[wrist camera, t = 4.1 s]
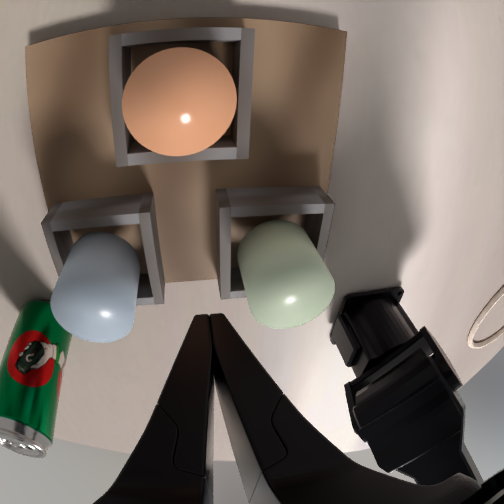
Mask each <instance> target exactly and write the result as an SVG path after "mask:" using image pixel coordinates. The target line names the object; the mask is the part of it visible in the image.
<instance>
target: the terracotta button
mask: <svg viewBox="0 0 504 504" xmlns="http://www.w3.org/2000/svg"><path fill="white" fill-rule="evenodd" d="M236 104H237V93H236V88H235V84H234V81H233V79H232V77H231V75H230V73H229V71H228V70H227V68H226V67H225V66H224V65H223V64H222V63H221V62H220V61H219V60H218V59H217V58H215V57H214V56H212V55H210V54H209V53H206V52H204V51H202V50H198V49H195V48H188V47H177V48H170V49H166V50H162V51H160V52H157V53H155V54H153V55H152V56H150V57H148V58H147V59H145V60H144V61H143V62H142V63H141V64H140V65H138V66H137V67H136V69H135V70H134V71H133V72H132V74H131V76H130V77H129V79H128V81H127V83H126V85H125V88H124V92H123V97H122V112H123V117H124V121H125V123H126V126H127V128H128V130H129V131H130V133H131V134H132V136H133V137H134V138H135V139H136V140H137V141H138V142H139V143H140V144H141V145H143V146H144V147H146V148H147V149H149V150H151V151H153V152H156V153H158V154H162V155H167V156H186V155H191V154H195V153H197V152H200V151H202V150H204V149H206V148H208V147H210V146H211V145H213V144H214V143H215V142H216V141H217V140H219V139H220V138H221V137H222V135H223V134H224V133H225V132H226V130H227V129H228V128H229V126H230V124H231V122H232V120H233V117H234V114H235V110H236Z"/></svg>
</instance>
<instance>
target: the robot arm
mask: <svg viewBox="0 0 504 504" xmlns="http://www.w3.org/2000/svg"><path fill="white" fill-rule="evenodd" d="M403 293H404V290H403V289H402V287H395V288H389V289H382V290H375V291H369V292H362V293H355V294H349V295H347V296H345V297H344V299H343V303H342V306H341V309H340V312H339V315H338V317H337V320H336V323H335V326H334V329H333V332H332V336H331V339H330V341H331V343H332V344H336V345H337V347H338V349H339V351H340V354H341V356H342V358H343V360H344V362H345V365H346V366H347V367H352V369H353V371H354V373H355V376H356V379H354V380H353V381H351V382H348V383H346V384H345V385H344V387H345V392H346V393H345V394H346V399H347V403H348V408H349V413H350V418H351V422H352V427H353V429H354V432H355V433H356V434H358V435H359V437H360V438H361V439H362V440H363V441H364V442H365V443H366V444H368V445H369V447H370V448H371V450H372V453H373V455H374V457H375V459H376V462H377V464H378V466H379V467H380V468H381V469H383V470H384V471H386V472H388V473H390V472H392V471H394V470H396V471H399V472H401V473H403V474H405V475H407V476H409V477H411V478H413V479H414V480H415V482H416V483H417V484H414V483H411V482H407V481H404V480H400V479H398V478H395V477H392V476H388V475H386V474H383V473H380V472H377V471H374V470H371V469H369V468H366V467H364V466H362V465H360V464H358V463H356V462H354V461H353V460H351V459H350V458H348V457H347V456H346V455H345V454H344V453H343V452H341V451H340V450H339V449H338V448H337V447H336V446H335V445H333V444H332V443H331V442H330V441H329V440H328V439H327V438H326V437H325V436H323V435H322V434H321V433H320V432H319V431H318V430H317V429H316V428H315V427H314V426H313V425H312V424H311V423H310V422H309V421H308V420H307V419H306V418H305V417H304V416H303V415H302V414H301V413H300V412H299V411H298V410H297V409H296V407H295V406H294V405H293V404H292V403H291V401H290V400H289V399H288V398H287V396H286V395H285V394H283V392H282V390H281V389H280V388H279V387H278V385H277V384H276V383H275V382H274V380H273V379H272V378H271V376H270V375H269V374H268V373H267V371H266V370H265V369H264V367H263V366H262V365H261V363H260V362H259V361H258V360H257V358H256V357H255V356H254V354H253V353H252V352H251V350H250V349H249V348H248V346H247V345H246V344H245V342H244V341H243V340H242V338H241V337H240V336H239V334H238V333H237V332H236V330H235V329H234V327H233V326H232V325H231V323H230V322H229V321H228V319H227V318H226V317H225V315H224V314H222V313H219V314H210V316H209V315H208V314H201V315H195V316H194V318H193V320H192V323H191V325H190V327H189V330H188V332H187V334H186V336H185V339H184V341H183V343H182V346H181V348H180V350H179V352H178V355H177V357H176V359H175V362H174V364H173V366H172V369H171V371H170V373H169V376H168V378H167V380H166V383H165V385H164V388H163V390H162V392H161V395H160V397H159V399H158V402H157V403H158V404H157V405H156V406H155V409H154V411H153V413H152V416H151V418H150V420H149V422H148V424H147V427H146V429H145V431H144V433H143V434H142V436H141V438H140V440H139V442H138V444H137V445H136V447H135V449H134V450H133V452H132V454H131V455H130V457H129V459H128V460H127V462H126V464H125V465H124V467H123V469H122V471H121V472H120V474H119V476H118V477H117V479H116V480H115V482H114V483H113V485H112V486H111V487H110V488H109V490H108V491H107V492H106V493H105V494H104V495H103V496H101V497H100V498H99V499H98V500H97V501H95V502H94V503H93V504H213V437H214V380H215V386H216V390H217V394H218V398H219V402H220V406H221V409H222V413H223V417H224V421H225V424H226V428H227V432H228V435H229V439H230V442H231V446H232V449H233V453H234V456H235V459H236V463H237V466H238V469H239V473H240V476H241V479H242V482H243V486H244V489H245V492H246V495H247V498H248V501H249V503H250V504H504V468H503V469H502V470H500V471H499V472H497V473H496V474H494V475H493V476H492V477H490V478H488V479H487V480H485V481H483V479H482V477H481V475H480V473H479V471H478V469H477V467H476V465H475V463H474V461H473V459H472V457H471V456H470V454H469V452H468V450H467V448H466V446H465V444H464V427H465V404H464V402H463V400H462V398H461V397H460V395H459V393H458V391H457V389H459V388H460V387H461V386H463V385H462V383H461V381H460V379H459V377H458V375H457V373H456V371H455V369H454V368H453V366H452V364H451V362H450V360H449V359H448V357H447V356H446V354H445V353H444V351H443V350H442V348H441V347H440V345H439V344H438V342H437V341H436V339H435V338H434V337H433V336H432V335H431V333H430V332H429V331H428V330H427V328H426V327H425V326H424V327H422V328H421V329H420V331H419V332H418V331H417V329H416V328H415V326H414V325H413V323H412V322H411V320H410V319H409V317H408V316H407V314H406V313H405V311H404V310H403V308H402V307H401V305H400V304H399V302H400V300H401V298H402V295H403ZM432 353H434V354H433V355H432V356H429V355H431V354H432Z"/></svg>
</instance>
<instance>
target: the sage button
mask: <svg viewBox="0 0 504 504" xmlns="http://www.w3.org/2000/svg"><path fill="white" fill-rule="evenodd" d="M237 260H238V264H239V268H240V272H241V276H242V280H243V284H244V288H245V292H246V296H247V300H248V304H249V308H250V311H251V314H252V316H253V317H254V319H255V320H256V321H257V322H259V323H260V324H262V325H264V326H266V327H270V328H275V329H287V328H293V327H297V326H300V325H303V324H305V323H307V322H309V321H311V320H313V319H314V318H316V317H317V316H319V315H320V314H321V313H322V312H323V311H324V310H325V309H326V308H327V307H328V305H329V304H330V302H331V300H332V298H333V295H334V291H335V283H334V279H333V277H332V275H331V274H330V272H329V270H328V268H327V267H326V265H325V263H324V262H323V260H322V258H321V257H320V255H319V253H318V251H317V250H316V248H315V246H314V245H313V243H312V241H311V240H310V238H309V236H308V235H307V233H306V232H305V230H304V229H303V228H302V227H301V226H299V225H298V224H296V223H294V222H291V221H288V220H271V221H267V222H264V223H262V224H259V225H257V226H256V227H254V228H253V229H251V230H250V231H249V232H248V233H247V234H246V235H245V236H244V238H243V239H242V241H241V242H240V245H239V247H238V251H237Z"/></svg>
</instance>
